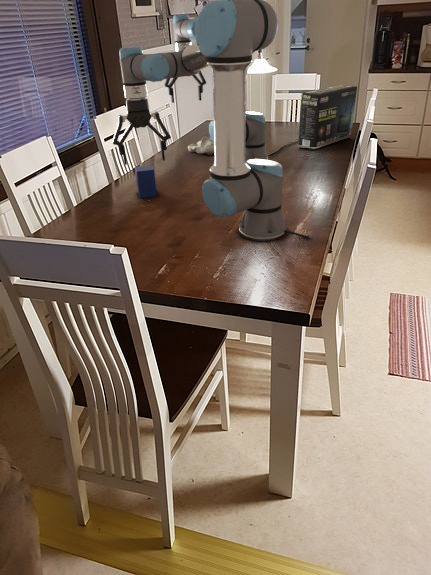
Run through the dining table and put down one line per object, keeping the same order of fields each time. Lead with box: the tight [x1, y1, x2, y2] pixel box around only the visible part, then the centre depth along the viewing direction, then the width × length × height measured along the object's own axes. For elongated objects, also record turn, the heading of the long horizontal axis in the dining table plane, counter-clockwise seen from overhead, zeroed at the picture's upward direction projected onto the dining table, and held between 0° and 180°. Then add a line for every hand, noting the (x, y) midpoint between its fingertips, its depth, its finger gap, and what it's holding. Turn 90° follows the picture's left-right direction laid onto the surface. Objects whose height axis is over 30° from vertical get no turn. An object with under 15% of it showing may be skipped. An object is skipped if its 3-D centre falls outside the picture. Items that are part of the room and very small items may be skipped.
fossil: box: [187, 135, 215, 156], centre depth 238 cm, size 18×11×15 cm
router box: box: [297, 84, 358, 151], centre depth 238 cm, size 36×11×27 cm, turn 134°
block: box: [134, 164, 158, 199], centre depth 182 cm, size 7×7×11 cm
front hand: (144, 161), depth 165 cm, fingers open, 13 cm apart
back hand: (186, 101), depth 225 cm, fingers open, 13 cm apart
